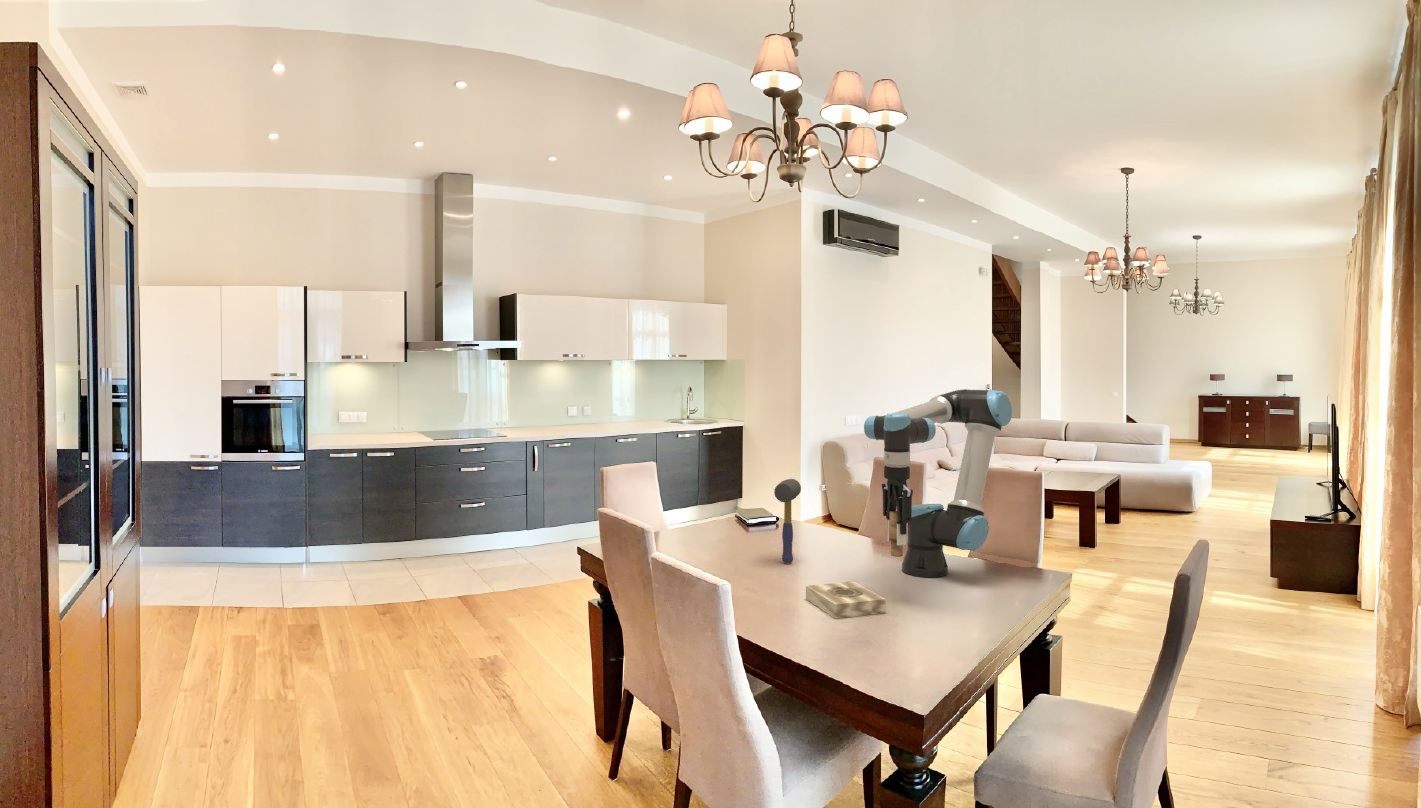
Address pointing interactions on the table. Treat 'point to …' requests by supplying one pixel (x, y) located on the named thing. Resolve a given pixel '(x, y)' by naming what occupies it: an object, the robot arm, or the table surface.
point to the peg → (894, 535)
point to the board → (845, 599)
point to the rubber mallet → (787, 514)
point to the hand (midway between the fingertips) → (896, 542)
